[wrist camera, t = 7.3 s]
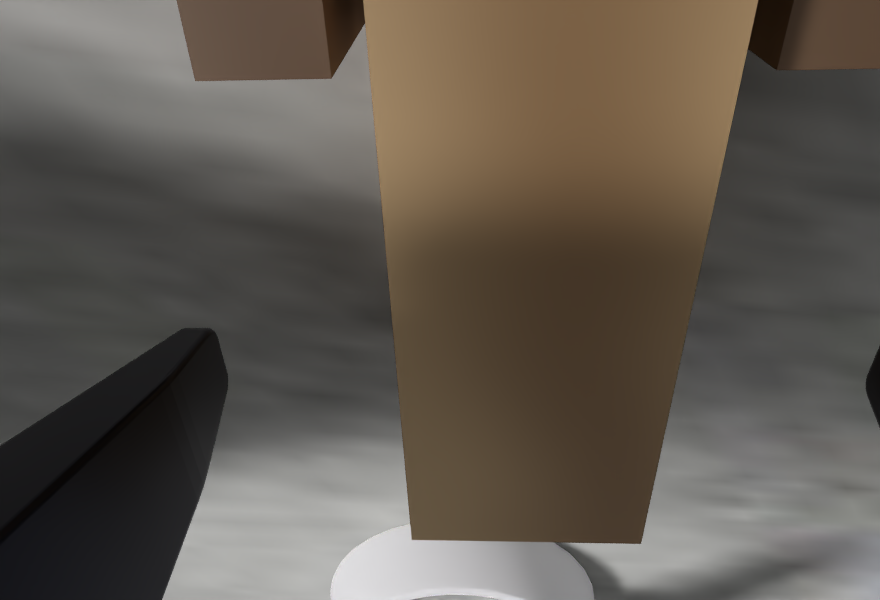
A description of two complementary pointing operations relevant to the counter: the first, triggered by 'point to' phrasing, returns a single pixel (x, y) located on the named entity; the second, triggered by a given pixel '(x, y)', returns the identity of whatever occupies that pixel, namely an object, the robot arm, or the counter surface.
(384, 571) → the vr controller
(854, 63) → the slot block
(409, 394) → the wooden block
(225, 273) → the counter surface
